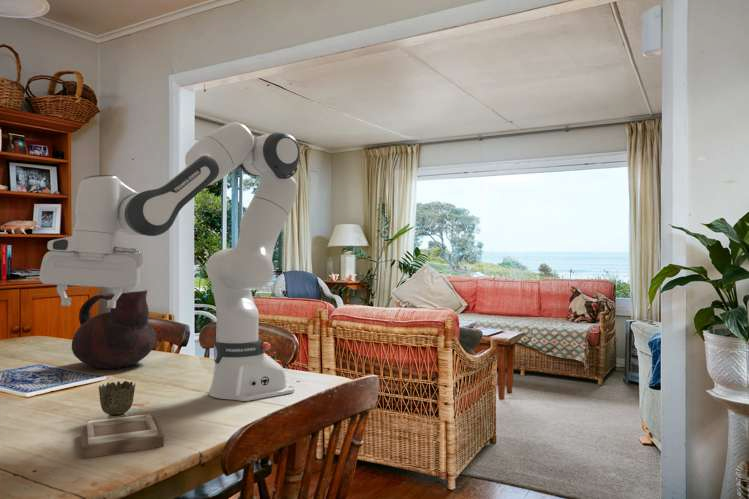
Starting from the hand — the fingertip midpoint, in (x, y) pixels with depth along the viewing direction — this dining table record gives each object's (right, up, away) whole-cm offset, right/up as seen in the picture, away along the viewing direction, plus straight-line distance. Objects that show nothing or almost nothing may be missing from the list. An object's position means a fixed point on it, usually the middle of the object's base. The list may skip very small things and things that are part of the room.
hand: (88, 306), depth 122 cm
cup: (+6, -26, 0) cm, 26 cm away
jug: (-22, -26, +57) cm, 66 cm away
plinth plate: (+14, -25, -13) cm, 32 cm away
